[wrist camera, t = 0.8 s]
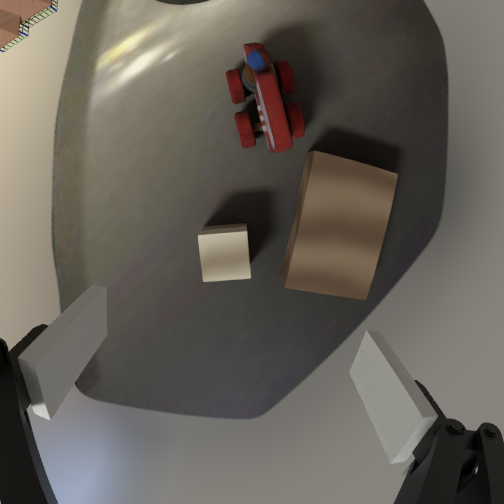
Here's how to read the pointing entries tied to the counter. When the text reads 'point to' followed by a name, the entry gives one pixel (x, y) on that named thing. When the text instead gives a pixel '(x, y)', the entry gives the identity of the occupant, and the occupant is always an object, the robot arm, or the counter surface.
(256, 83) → the toy fire truck
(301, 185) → the plinth
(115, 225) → the counter surface
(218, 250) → the birch block
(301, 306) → the counter surface
